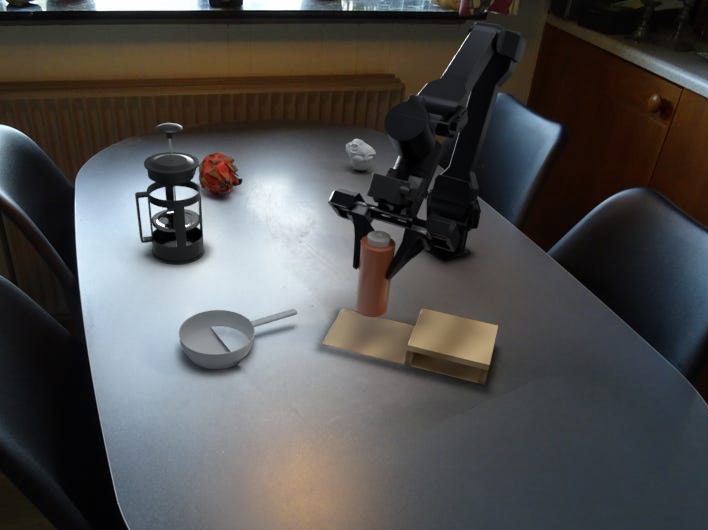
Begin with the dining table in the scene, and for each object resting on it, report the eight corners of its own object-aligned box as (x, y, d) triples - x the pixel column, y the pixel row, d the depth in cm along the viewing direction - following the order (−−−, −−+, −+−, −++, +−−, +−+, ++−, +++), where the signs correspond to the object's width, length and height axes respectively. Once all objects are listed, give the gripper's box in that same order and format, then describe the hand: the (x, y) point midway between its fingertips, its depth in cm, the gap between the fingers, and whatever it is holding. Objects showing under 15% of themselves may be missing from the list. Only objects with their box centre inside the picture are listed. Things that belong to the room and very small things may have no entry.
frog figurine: (345, 162, 159) (347, 134, 155) (375, 166, 159) (378, 137, 155) (342, 172, 154) (345, 143, 150) (373, 176, 154) (376, 146, 150)
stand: (321, 348, 100) (323, 324, 98) (341, 313, 108) (343, 289, 105) (483, 389, 94) (489, 364, 92) (492, 349, 102) (498, 325, 100)
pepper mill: (374, 295, 102) (383, 221, 95) (393, 311, 99) (404, 236, 92) (348, 304, 100) (355, 228, 93) (366, 320, 97) (375, 244, 89)
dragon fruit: (214, 184, 149) (229, 215, 141) (183, 167, 143) (196, 198, 136) (237, 154, 146) (253, 184, 138) (206, 136, 140) (221, 165, 133)
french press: (202, 235, 126) (196, 114, 113) (213, 260, 119) (208, 133, 106) (138, 243, 123) (124, 118, 110) (145, 269, 116) (131, 139, 102)
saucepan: (170, 338, 100) (168, 317, 98) (281, 312, 107) (281, 291, 105) (194, 382, 92) (192, 360, 90) (311, 350, 100) (312, 329, 97)
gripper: (338, 132, 92) (293, 235, 91) (468, 164, 85) (421, 277, 84) (360, 168, 103) (320, 261, 101) (477, 199, 95) (436, 300, 94)
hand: (370, 273), depth 95 cm, fingers closed on pepper mill, 5 cm apart
